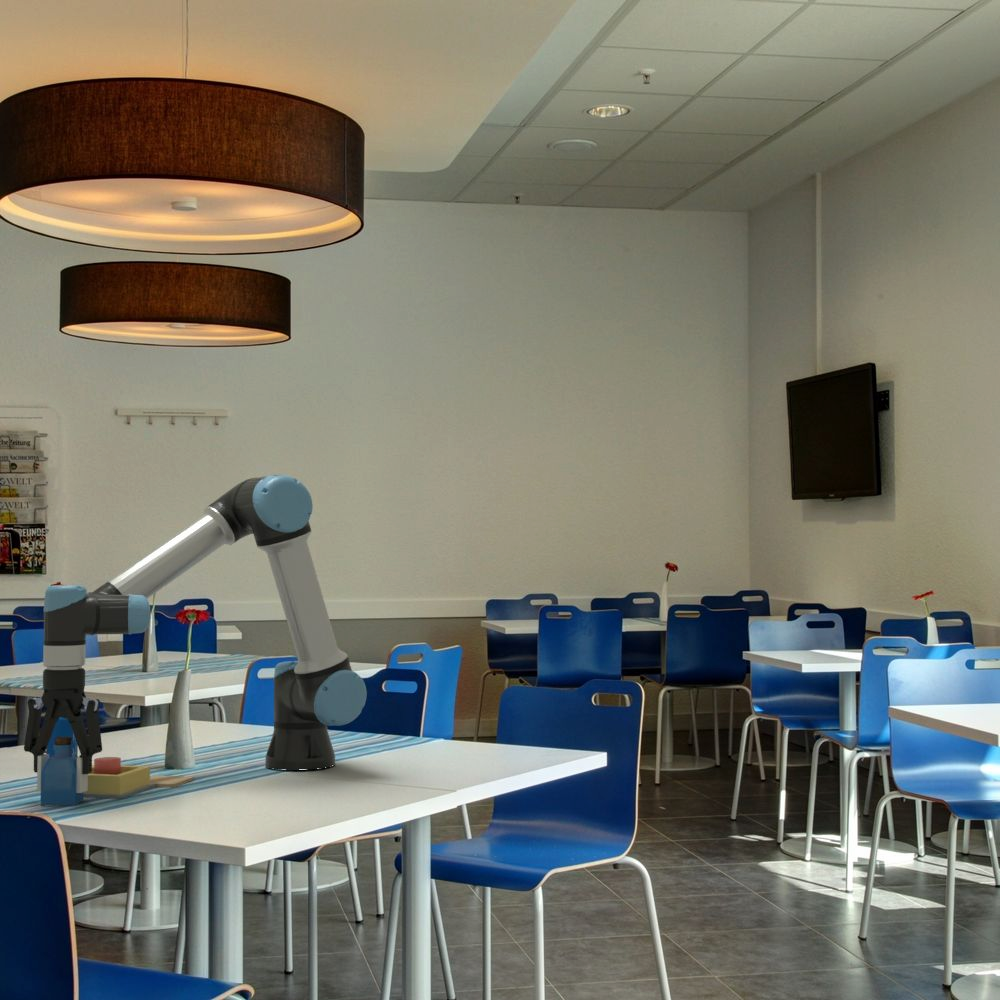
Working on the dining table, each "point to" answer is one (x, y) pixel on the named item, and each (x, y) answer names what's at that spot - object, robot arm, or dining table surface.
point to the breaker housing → (119, 783)
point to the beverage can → (62, 730)
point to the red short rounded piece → (107, 765)
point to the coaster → (169, 780)
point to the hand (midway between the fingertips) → (62, 790)
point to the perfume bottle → (60, 775)
